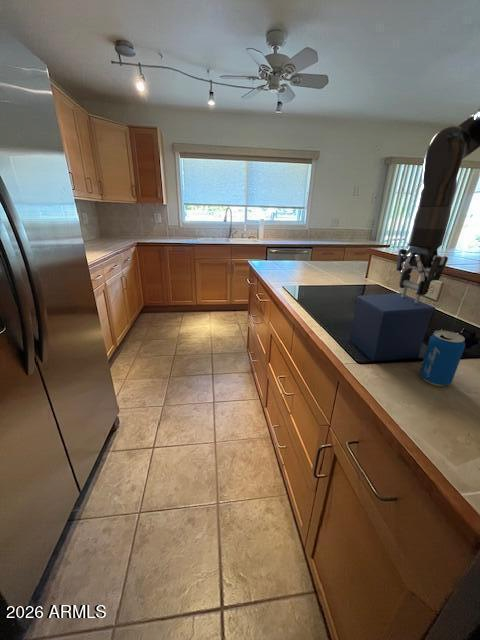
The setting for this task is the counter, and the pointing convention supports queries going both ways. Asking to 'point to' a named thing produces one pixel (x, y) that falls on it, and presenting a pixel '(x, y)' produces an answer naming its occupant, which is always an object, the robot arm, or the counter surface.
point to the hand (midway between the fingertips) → (411, 290)
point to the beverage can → (442, 357)
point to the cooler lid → (397, 301)
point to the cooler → (388, 333)
